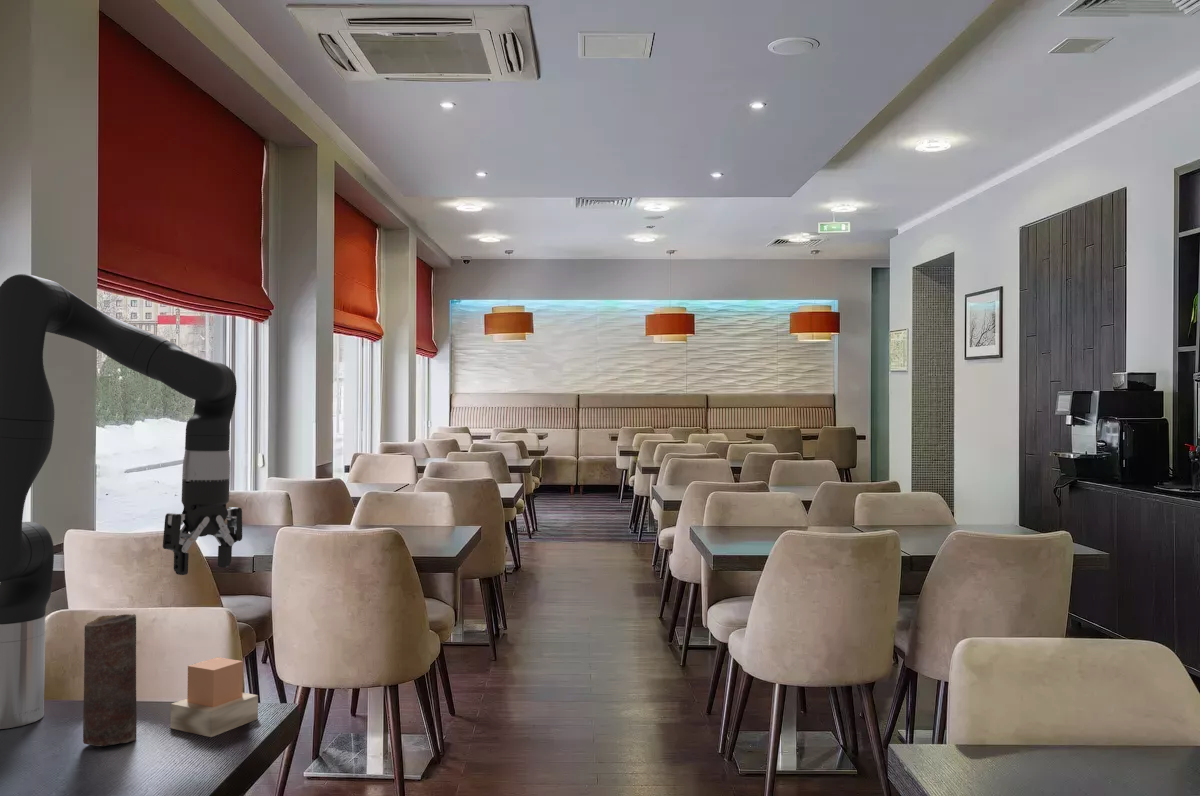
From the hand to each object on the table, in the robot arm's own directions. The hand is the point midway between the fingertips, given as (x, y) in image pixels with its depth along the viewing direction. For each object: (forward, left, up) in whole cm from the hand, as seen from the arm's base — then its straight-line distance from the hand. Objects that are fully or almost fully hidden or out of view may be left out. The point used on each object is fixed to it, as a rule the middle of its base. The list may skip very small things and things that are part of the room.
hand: (203, 570), depth 151 cm
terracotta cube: (+5, -1, -21) cm, 22 cm away
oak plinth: (+5, -1, -25) cm, 25 cm away
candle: (-2, -15, -25) cm, 30 cm away
